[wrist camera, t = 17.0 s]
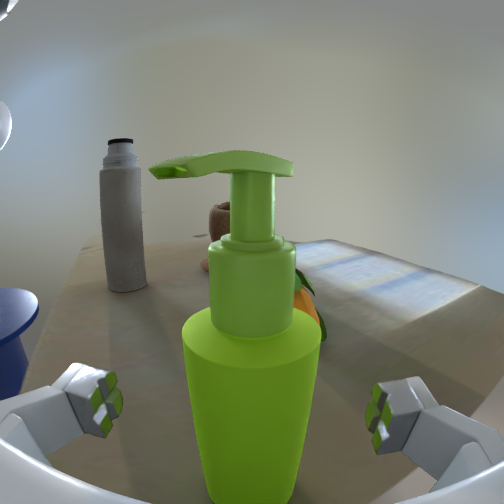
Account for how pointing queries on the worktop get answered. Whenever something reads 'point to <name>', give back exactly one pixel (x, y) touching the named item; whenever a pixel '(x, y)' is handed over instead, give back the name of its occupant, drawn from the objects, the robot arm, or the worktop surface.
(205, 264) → the stone cup
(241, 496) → the soap dispenser
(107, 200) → the thermos bottle
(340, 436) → the worktop surface
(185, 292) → the worktop surface
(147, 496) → the worktop surface
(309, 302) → the corn
